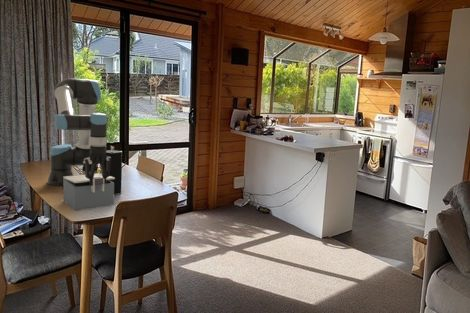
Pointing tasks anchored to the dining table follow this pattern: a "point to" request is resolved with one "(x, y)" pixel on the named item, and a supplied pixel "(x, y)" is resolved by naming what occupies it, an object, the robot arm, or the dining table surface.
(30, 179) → the dining table surface
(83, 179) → the lid
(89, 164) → the travel mug
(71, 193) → the carton
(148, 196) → the dining table surface
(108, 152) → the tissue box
